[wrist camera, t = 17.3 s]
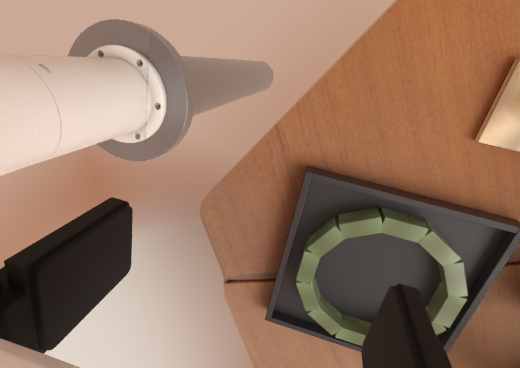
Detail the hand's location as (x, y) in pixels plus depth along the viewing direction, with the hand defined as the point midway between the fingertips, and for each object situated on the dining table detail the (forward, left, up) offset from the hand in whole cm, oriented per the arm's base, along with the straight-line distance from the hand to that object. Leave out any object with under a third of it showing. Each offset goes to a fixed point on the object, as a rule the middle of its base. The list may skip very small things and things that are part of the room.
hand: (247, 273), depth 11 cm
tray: (+13, -16, -26) cm, 33 cm away
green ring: (+13, -16, -26) cm, 33 cm away
